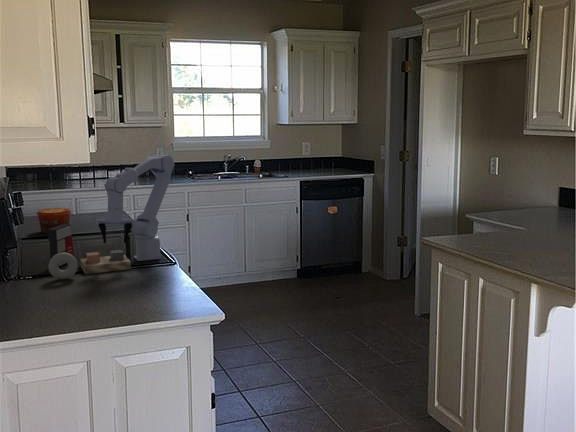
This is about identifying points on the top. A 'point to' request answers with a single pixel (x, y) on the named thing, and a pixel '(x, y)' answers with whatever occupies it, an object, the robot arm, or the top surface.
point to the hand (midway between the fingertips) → (114, 242)
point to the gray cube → (116, 255)
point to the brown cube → (93, 257)
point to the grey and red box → (60, 240)
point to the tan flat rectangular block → (105, 265)
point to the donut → (63, 258)
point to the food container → (53, 218)
